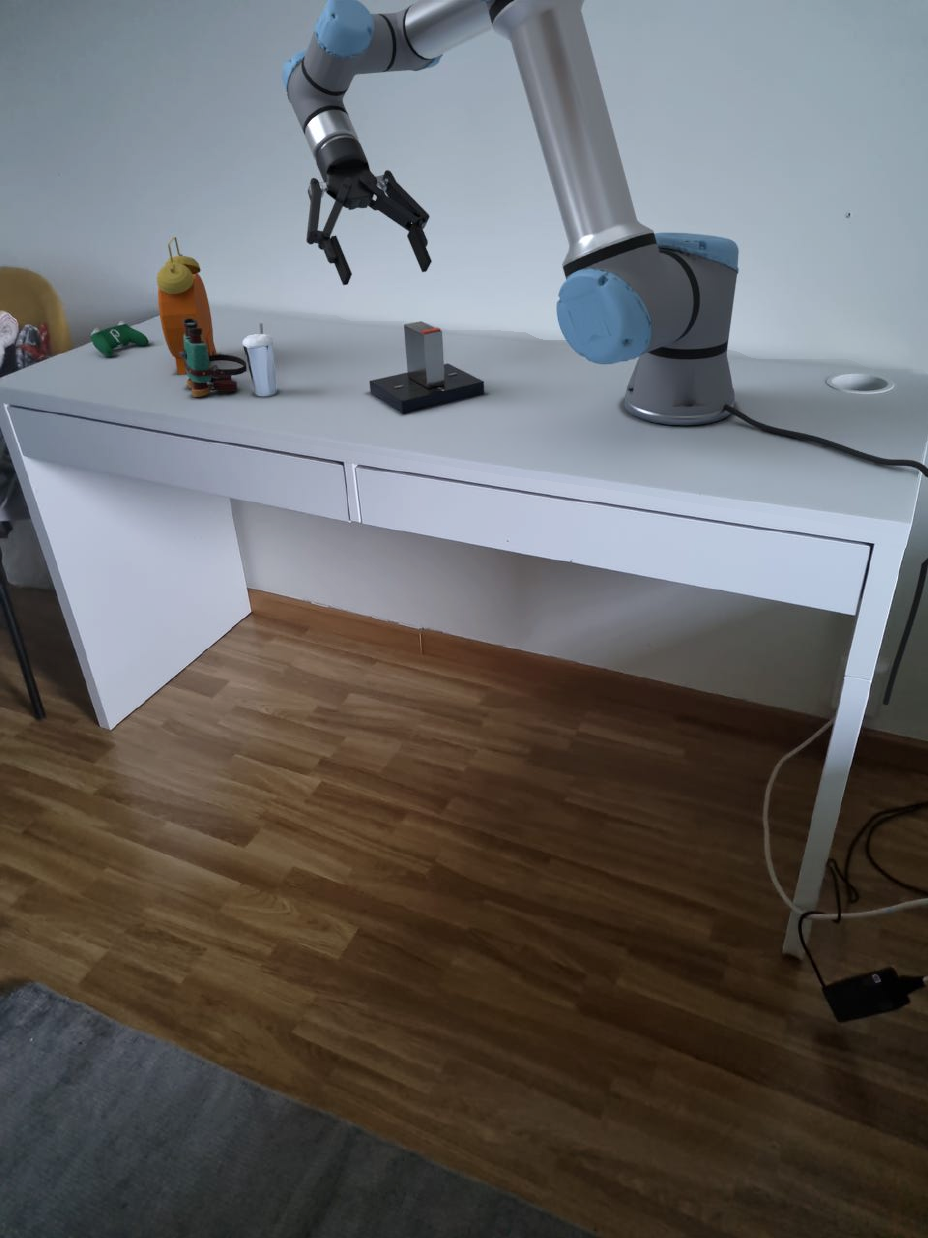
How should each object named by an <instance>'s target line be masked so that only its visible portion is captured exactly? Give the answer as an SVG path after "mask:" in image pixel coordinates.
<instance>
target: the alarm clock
mask: <svg viewBox="0 0 928 1238" xmlns="http://www.w3.org/2000/svg"><path fill="white" fill-rule="evenodd" d="M173 241H174V243H175V247H176V252H177V255H176V256H173V252H172V248H171V244H172V242H173ZM167 247H168V253H169V257H170V258H168V259H167V260H166V262H165V263H164V266H162V267H161V268H160V270H159V271H158V272H157V275H156V283H157V288H158V289H157V290H158V291H157V303H158V311H159V312H158V313H159V319H160V324H161V329H162V332H163V336H164V340H165V343H166V346H167V349H168V350H169V353H170V354H171V356H172V357H173V358H174V360H175V365H176V366H175V367H176V373H177V375H188V374H187V372H186V367H185V365H184V360H185V359H184V358H182V357H180V356H179V352H180V351H184V334H185V333H186V329H185V327H184V325H183V320H184V319H187V318H192V319H195V320H197V327H196V328H202V334H201V340H203V341H204V342H205V343H206V344H207V350H208V352H209V355H214V354H218V353H217V349H216V345H215V342H214V330H213V322H212V321H213V320H212V313H211V309H210V302H209V299H208V298H209V297H208V294H207V291H206V287H205V284H204V281H203V280H202V277H201V275H200V272H201V271H202V269H201V266H200V264H199V262H198V261H197V260H196V259H195V258H193V257H191V256H187V255H183V254H182V253H180V249H179V245H178V240H177V236H173V238H171V240H170V241H169V242H168V244H167ZM211 366H212V362H210V368H211Z"/></svg>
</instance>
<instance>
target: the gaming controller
mask: <svg viewBox="0 0 928 1238" xmlns="http://www.w3.org/2000/svg"><path fill="white" fill-rule="evenodd" d="M90 340H91V342H92V345H93V346H94V348H95V349H96V350H98V352H100V353H101V354H102V355H104V356H106V357H108V358H112V357H113V356H114V351H113V350H115V349H116V348H119V347H127V346H128V345H129V344H134V345H137V346H141V347H146V346H148V345H149V343H150V341H149V339H148V337H147V336H146V335H145V334H144V333H143V332H141V331H139V330H137V329H135V328H133V327H131V326H130V325H128V324H127V323H126V322H125V320H124V319H121V320H120V321H119V322H118V324H117V325H114V326H112V327H107V328H105V329H104V328H103V329H101V330H100V329H99V327H95V328H94V329H93V330H92V332H91V334H90Z"/></svg>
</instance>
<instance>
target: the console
mask: <svg viewBox="0 0 928 1238" xmlns="http://www.w3.org/2000/svg"><path fill="white" fill-rule="evenodd" d="M444 377H445V385H440V386H436V387H432V388H426V387H424V386H422V385H421V384H419V383H417V382H416V381H414V380H412V379H411V378H409V377H408V372H407V371H406V372H403V373H398V374H394V375H390V376H385V377H381V378H376V379H371V380H369V390H370V391H369V392H370V394H371V395H373V396H374V397H375V398H377V399H378V400H380V401H382V402H384V403H385V404H386V405H388V406H390V407H392V408H393V409H394V410H396V411H398V412H399V413H401V414H402V415H404V414H409V413H413V412H416V411H421V410H425V409H429V408H434V407H438V406H441V405H445V404H446V405H447V404H449V403H454V402H459V401H462V400H466V399H471V398H474V397H479V396H482V395H485V381H483V380H482V379H480V378H478V377H475V376H473V375H472V374H470V373H468V372H466V371H464V370H462V369H461V368H458V367H456V366H455V365H453V364H450V363H444Z"/></svg>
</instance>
